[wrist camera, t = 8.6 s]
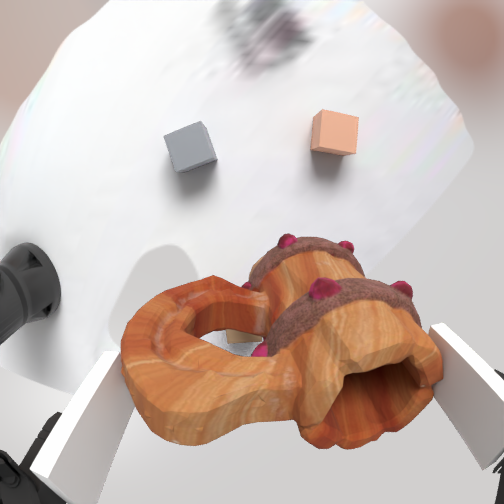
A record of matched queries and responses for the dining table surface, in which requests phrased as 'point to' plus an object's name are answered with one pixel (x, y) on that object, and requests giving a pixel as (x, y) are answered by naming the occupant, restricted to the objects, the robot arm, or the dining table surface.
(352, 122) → the terracotta block
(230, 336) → the walnut block
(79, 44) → the dining table surface
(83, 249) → the dining table surface
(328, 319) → the mug
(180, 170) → the slate block
